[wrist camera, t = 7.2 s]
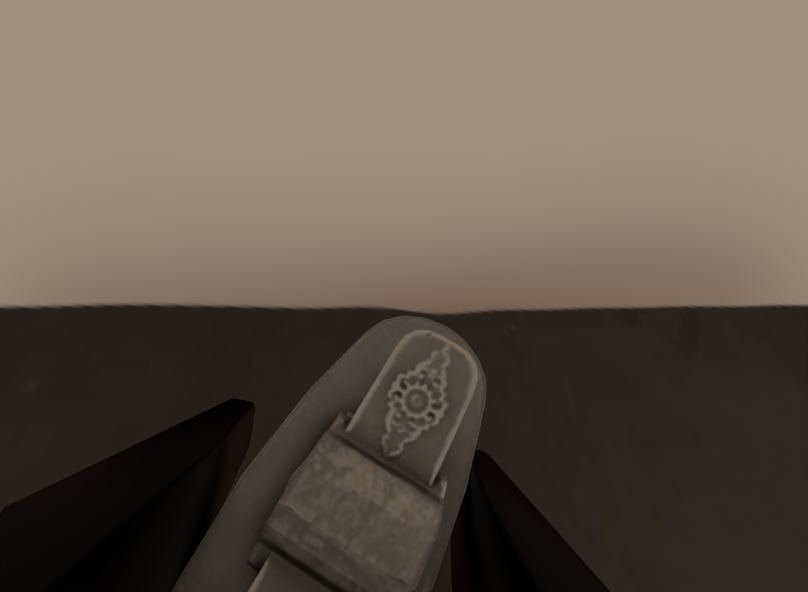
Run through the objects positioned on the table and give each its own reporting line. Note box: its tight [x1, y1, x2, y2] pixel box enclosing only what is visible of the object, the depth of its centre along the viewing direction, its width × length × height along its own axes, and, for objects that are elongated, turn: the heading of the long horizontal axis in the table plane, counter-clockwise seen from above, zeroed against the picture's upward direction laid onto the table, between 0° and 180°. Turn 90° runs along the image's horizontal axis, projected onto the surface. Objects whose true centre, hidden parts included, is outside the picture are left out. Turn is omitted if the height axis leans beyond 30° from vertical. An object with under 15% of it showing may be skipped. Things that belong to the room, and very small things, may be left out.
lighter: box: [172, 316, 486, 592], centre depth 8 cm, size 8×3×10 cm, turn 150°
